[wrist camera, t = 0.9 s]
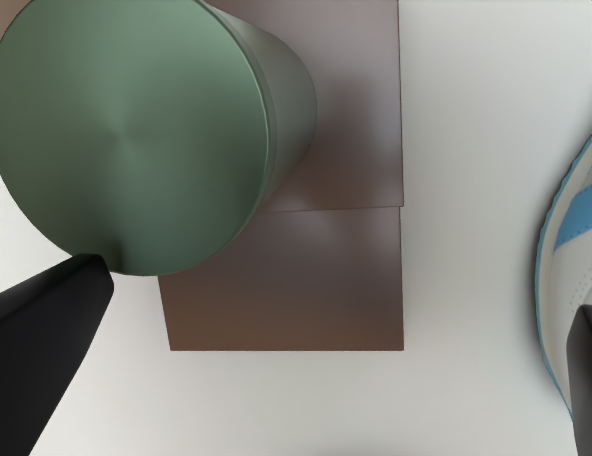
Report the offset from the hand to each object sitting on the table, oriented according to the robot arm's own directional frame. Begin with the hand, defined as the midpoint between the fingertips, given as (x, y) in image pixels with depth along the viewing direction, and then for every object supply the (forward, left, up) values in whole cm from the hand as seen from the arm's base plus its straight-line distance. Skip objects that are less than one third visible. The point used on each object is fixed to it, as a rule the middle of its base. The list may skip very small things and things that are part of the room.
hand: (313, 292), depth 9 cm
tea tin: (+2, +4, -10) cm, 11 cm away
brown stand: (-2, +4, -15) cm, 15 cm away
